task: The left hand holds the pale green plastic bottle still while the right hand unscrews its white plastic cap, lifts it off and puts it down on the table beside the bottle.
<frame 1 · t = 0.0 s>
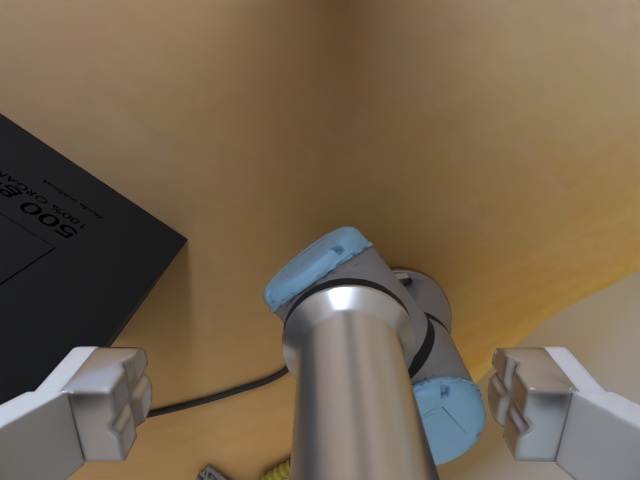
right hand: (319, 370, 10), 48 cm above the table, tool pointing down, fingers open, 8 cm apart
cardboard box: (26, 213, 59), on the table
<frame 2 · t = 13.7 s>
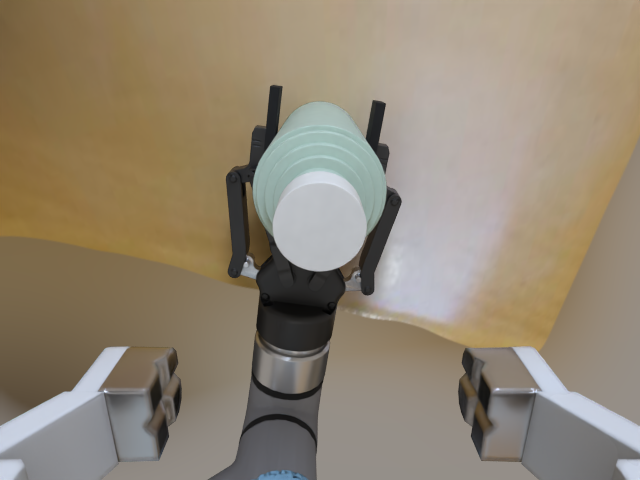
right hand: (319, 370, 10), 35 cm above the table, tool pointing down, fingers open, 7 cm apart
left hand: (328, 94, 36), fingers closed on bottle, 8 cm apart
bottle: (319, 142, 44), on the table, touching left hand
cap: (319, 226, 20), point 25 cm above the table, screwed on, not yet turned
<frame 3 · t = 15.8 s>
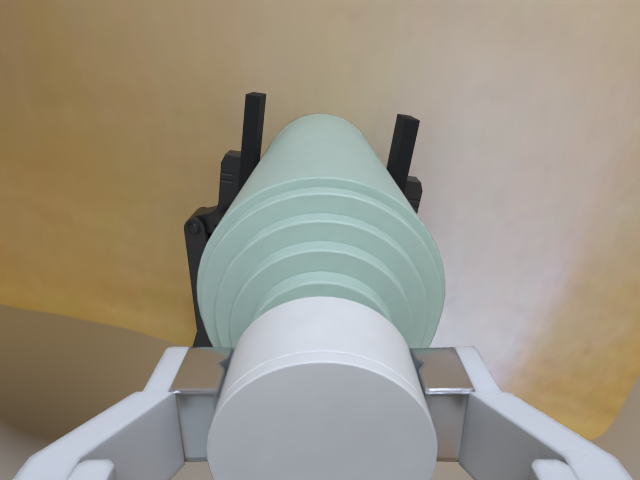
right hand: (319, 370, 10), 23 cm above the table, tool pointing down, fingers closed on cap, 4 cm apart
bottle: (320, 169, 32), on the table, touching left hand
cap: (322, 445, 8), point 25 cm above the table, screwed on, not yet turned, touching right hand
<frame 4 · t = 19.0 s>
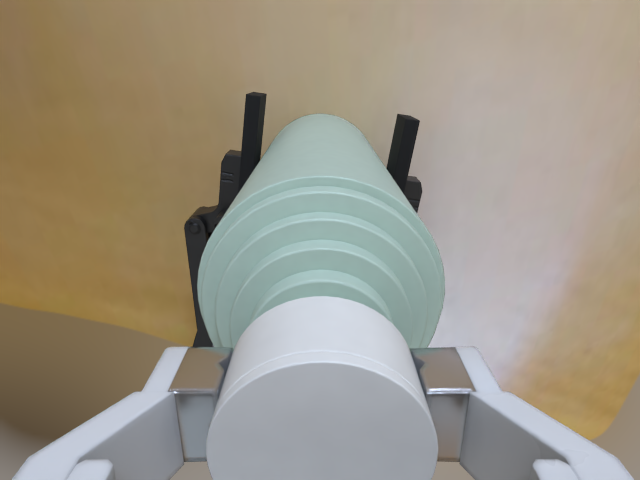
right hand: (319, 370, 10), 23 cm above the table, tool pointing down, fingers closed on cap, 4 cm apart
bottle: (320, 169, 32), on the table, touching left hand
cap: (322, 445, 8), point 25 cm above the table, turned 86° so far, risen 0.1 cm, still on its thread, touching right hand
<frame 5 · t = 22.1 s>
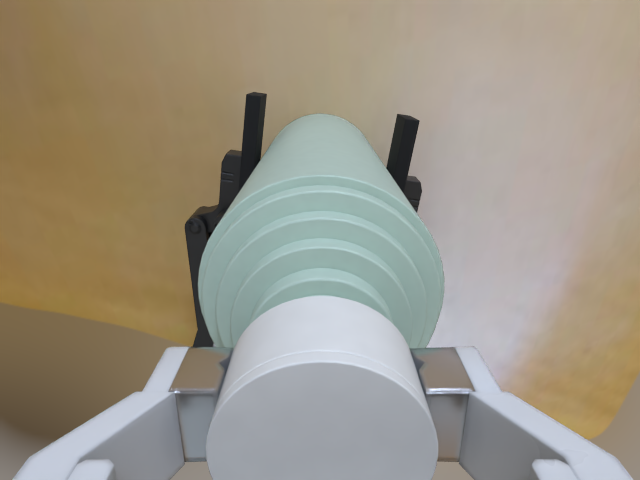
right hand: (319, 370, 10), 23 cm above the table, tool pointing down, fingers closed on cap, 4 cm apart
bottle: (320, 169, 32), on the table, touching left hand
cap: (322, 445, 8), point 25 cm above the table, turned 172° so far, risen 0.2 cm, still on its thread, touching right hand
when the right hand's fingers open (2 cm above the table, at t = 40.4 s): cap drops 2 cm, point 2 cm above the table.
when the left hand's fingers open (6 cm above the table, at t = 41.6 s): bottle stays where it is, on the table.
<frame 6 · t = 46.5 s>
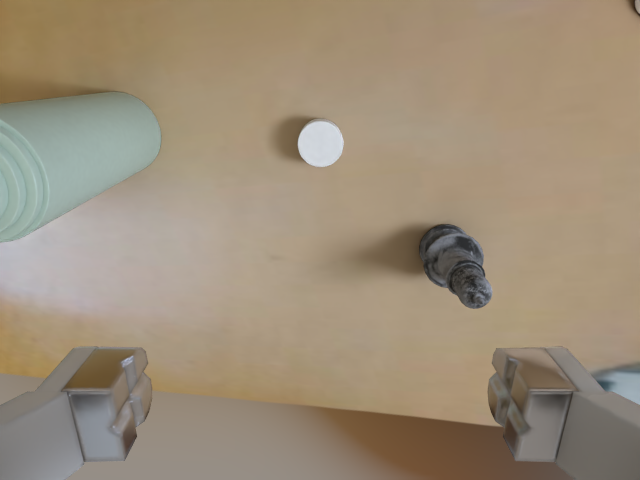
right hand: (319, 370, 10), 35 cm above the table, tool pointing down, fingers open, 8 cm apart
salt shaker: (443, 247, 48), on the table
bottle: (121, 133, 43), on the table
cap: (320, 143, 42), point 2 cm above the table, off its thread
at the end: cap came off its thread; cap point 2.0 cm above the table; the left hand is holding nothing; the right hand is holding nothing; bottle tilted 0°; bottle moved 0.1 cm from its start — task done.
